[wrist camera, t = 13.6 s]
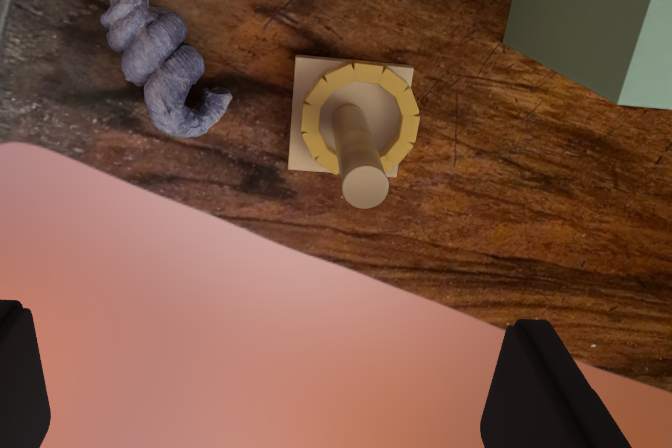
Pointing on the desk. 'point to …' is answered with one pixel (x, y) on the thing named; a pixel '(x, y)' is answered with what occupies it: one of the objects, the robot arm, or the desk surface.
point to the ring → (366, 74)
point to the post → (348, 129)
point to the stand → (600, 45)
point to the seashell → (162, 66)
